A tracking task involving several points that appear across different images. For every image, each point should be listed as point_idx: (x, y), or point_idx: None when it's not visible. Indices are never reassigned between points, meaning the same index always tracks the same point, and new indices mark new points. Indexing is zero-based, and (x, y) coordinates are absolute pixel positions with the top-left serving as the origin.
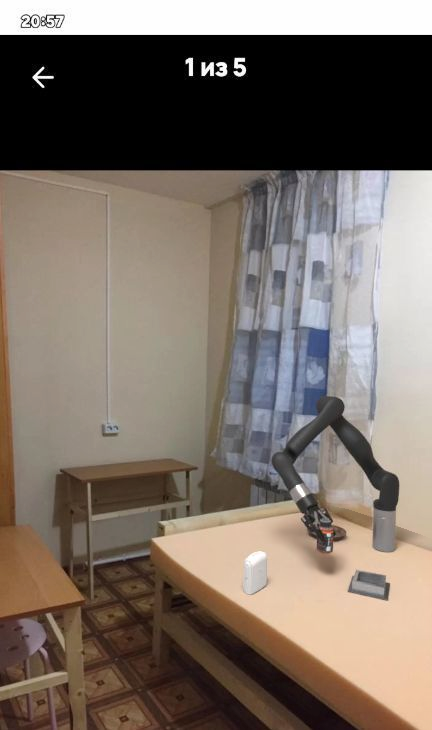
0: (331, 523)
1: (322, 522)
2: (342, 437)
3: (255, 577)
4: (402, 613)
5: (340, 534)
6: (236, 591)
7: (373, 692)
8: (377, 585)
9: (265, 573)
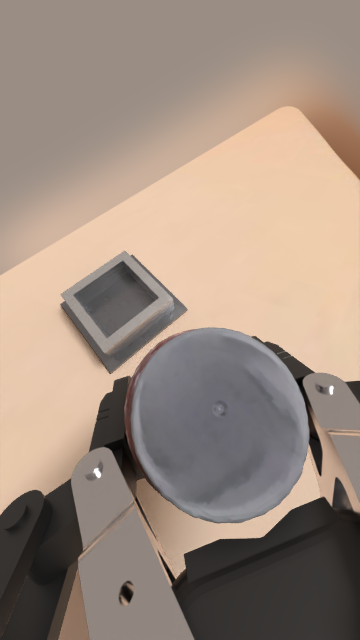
0: (56, 489)
1: (289, 380)
2: None
3: None
4: (145, 220)
5: None
6: None
7: (313, 132)
8: (129, 263)
9: None
